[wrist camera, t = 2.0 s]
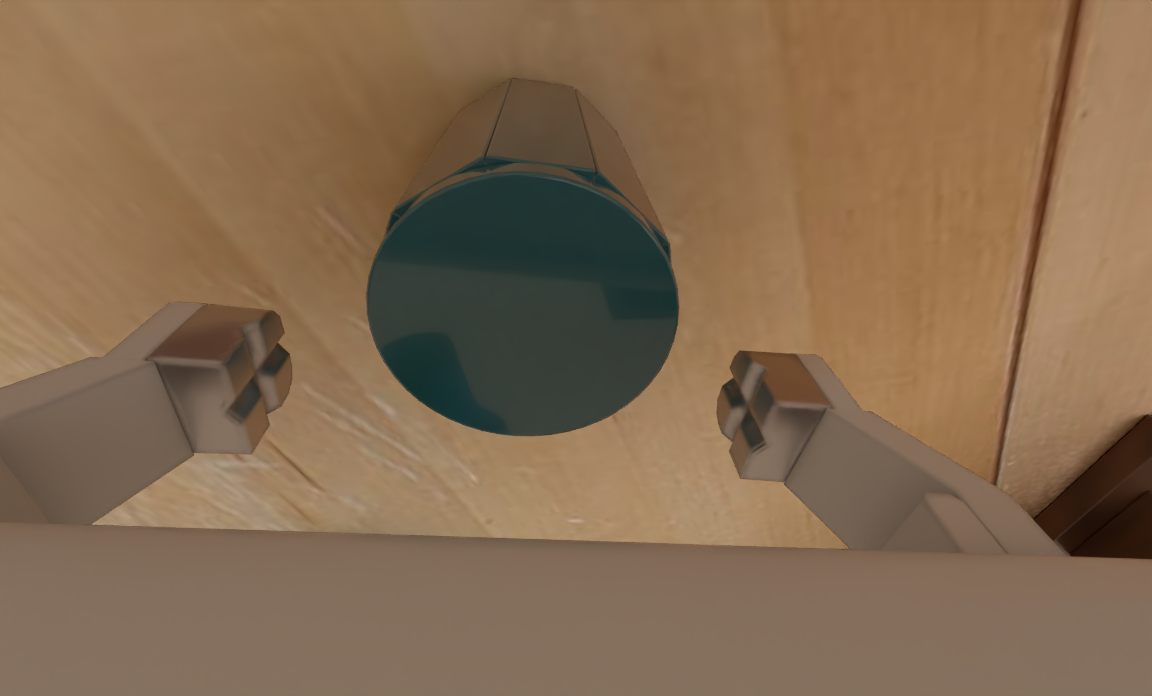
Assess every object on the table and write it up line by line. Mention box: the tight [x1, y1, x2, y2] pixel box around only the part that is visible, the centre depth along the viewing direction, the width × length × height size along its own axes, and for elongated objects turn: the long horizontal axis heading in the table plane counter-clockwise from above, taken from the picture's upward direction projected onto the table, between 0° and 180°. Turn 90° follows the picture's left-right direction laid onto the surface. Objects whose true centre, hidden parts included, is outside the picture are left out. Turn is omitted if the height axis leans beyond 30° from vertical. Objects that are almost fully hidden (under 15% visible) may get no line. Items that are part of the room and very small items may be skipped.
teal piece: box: [366, 78, 679, 436], centre depth 14 cm, size 6×6×9 cm
